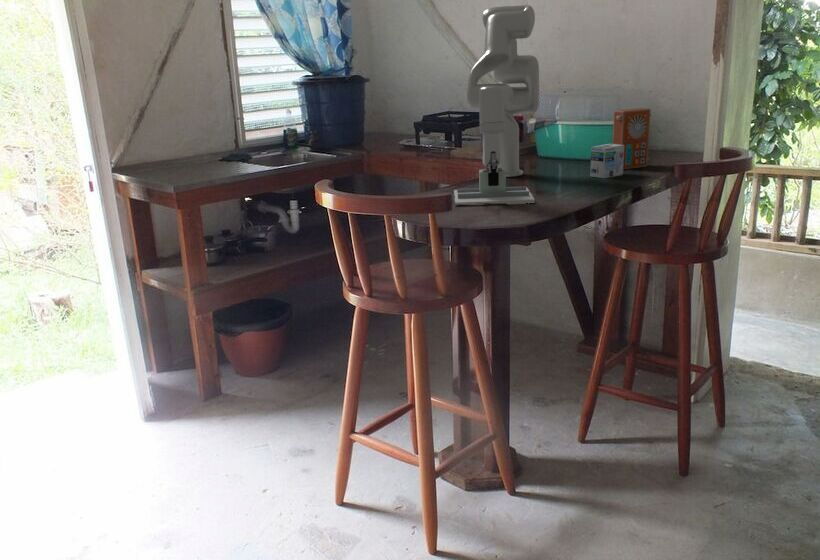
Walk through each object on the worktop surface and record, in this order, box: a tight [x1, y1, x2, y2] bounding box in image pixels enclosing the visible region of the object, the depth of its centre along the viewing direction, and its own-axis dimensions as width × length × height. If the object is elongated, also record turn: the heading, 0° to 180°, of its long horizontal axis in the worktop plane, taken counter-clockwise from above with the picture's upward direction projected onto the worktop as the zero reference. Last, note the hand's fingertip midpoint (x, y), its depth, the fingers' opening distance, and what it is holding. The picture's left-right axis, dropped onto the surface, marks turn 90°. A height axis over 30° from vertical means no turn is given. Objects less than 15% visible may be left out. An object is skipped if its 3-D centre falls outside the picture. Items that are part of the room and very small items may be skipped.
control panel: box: [612, 107, 652, 170], centre depth 259 cm, size 21×7×15 cm
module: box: [478, 167, 507, 193], centre depth 218 cm, size 5×8×7 cm, turn 87°
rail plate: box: [453, 185, 536, 205], centre depth 219 cm, size 20×24×3 cm
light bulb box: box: [589, 143, 624, 179], centre depth 246 cm, size 11×7×11 cm, turn 126°
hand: (492, 182), depth 218 cm, fingers open, 9 cm apart
